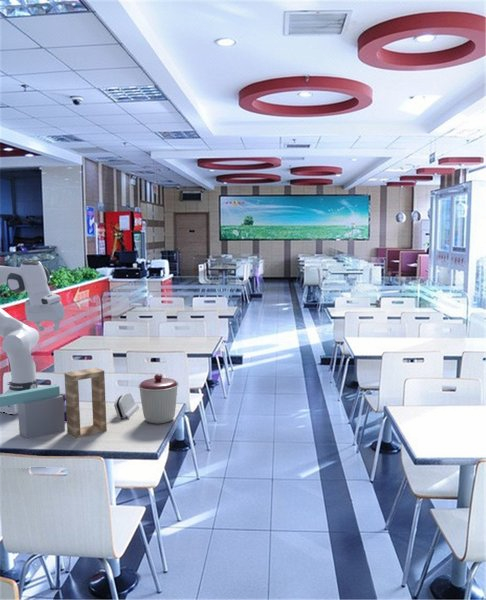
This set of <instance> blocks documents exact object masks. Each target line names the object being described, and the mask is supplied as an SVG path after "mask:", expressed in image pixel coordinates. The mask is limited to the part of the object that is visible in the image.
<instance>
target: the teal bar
mask: <svg viewBox="0 0 486 600" xmlns="http://www.w3.org/2000/svg"><path fill="white" fill-rule="evenodd" d="M60 394H61V391H60V386H59V385H57V384H51V385H46V386H41V387H37V388H34V389H29V390H23V391H18V392H12V393H7V394H4V393H1V394H0V407H4V406H9V405H14V404H19V403H24V402H29V401H35V400H40V399H45V398H50V397H55V396H60Z"/></svg>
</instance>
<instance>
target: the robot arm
mask: <svg viewBox="0 0 486 600" xmlns="http://www.w3.org/2000/svg"><path fill="white" fill-rule="evenodd" d="M50 278H51V274H50V271H49V270H48V268H47V267H46V266H44V265H43V264H42V262H41V261H39V260H37V259H28V260H25V261H22V263H21V264H20V266H6V265H0V286H3V285H5V284H6V285H7V287H8V289H9V290H10V291H11V292H12V293H14V294H16V295H18V294H24V293H27V296H28V297H27V298H28V299H26V300H25V302H24V311H25V312H24V313H25V316H26V317H25V318H26V320H27V321H28V322H34V324H35V327H37V329H36V328H34V327H31V326H29V325H27V324H25V323H24V322H22V321H20V320H18V319H17V318H16V317H13V316H12V315H10V314H9V313H8V312H7V311H5V310H4V309H3V308H1V307H0V337H2V338H4V339H3V340H2V344H1V347H2V349H3V351H4V353H5V354H6V356H7V358H8V362H9V366H10V378H11V380H10V381H9V382H7V386H9V387H8V389H7V390H5V392H4V393H3V394H7V393H12V392H18V391H23V390H29V389H34V388H38V387H39V386H38V378H37V370H36V363H35V361H34V359H33V356H32V353H31V350H32V349H33V348H35V347H36V346H37V344H38V343H39V341H40V333H39V332H43V331H45V326H44V325H42V323H41V322H53V324H54V326H53V327H52V328H53V331H54V332H58V331H60V330H61V328H60V323H61V321H62V320H64V319H66V311H65V308H64V305H63V303H62V297H61V295H59V294H56V293H54V292H52V291H51V289H50V287H49V285H48V284H49V282H50ZM3 412H5V413H4V414H6V413H7V414H6V415H9V414H13V415H18V414H17V413H18V404H14V405H9V406H4V407H0V413H3Z"/></svg>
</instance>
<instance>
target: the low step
mask: <svg viewBox="0 0 486 600" xmlns="http://www.w3.org/2000/svg"><path fill="white" fill-rule="evenodd" d="M17 415H18V427H19V428H18V429H19V430H18V431H19V435H20V436H22V438H24V439H25V440H27V441H28V440H32V439H36V438H41V437H46V436H50V435H53V434H57V433H61V432H62V433H63V432H65V431H66V425H65V424H66V423H65V420H64V400H63V396H61V395H60V396H55V397H50V398H45V399H40V400H35V401H29V402H24V403H19V404H18V414H17Z"/></svg>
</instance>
